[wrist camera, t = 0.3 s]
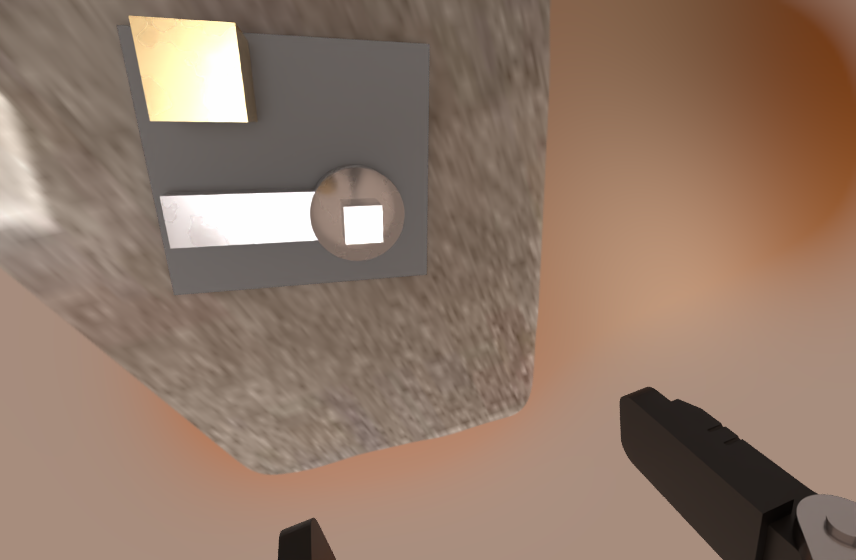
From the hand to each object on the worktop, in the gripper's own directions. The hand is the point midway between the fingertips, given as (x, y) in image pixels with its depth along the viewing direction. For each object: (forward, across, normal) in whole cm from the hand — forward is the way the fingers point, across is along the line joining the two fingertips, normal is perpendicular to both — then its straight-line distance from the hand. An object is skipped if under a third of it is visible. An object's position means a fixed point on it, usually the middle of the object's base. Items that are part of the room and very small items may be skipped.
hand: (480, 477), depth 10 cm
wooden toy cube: (+27, +6, -12) cm, 30 cm away
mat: (+27, +3, -5) cm, 28 cm away
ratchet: (+26, +5, -2) cm, 27 cm away
